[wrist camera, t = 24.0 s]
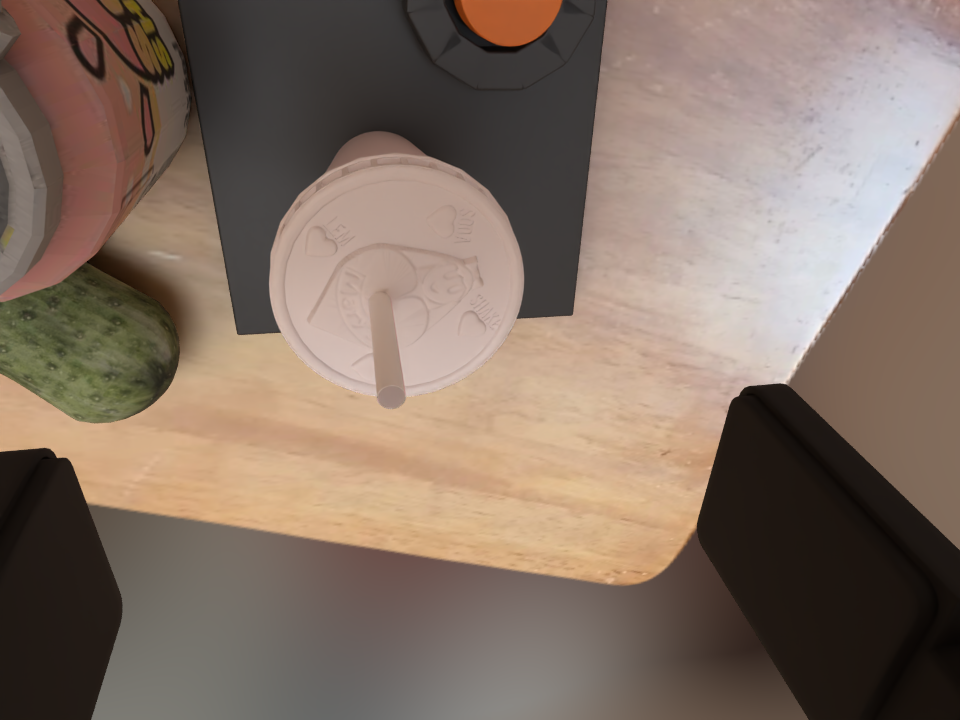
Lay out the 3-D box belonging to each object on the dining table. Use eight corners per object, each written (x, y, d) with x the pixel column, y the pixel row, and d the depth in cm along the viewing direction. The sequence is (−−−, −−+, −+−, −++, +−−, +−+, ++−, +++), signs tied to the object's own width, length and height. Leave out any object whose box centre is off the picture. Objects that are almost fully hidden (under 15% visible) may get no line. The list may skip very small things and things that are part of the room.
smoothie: (261, 119, 23) (180, 290, 11) (441, 68, 23) (551, 183, 11) (326, 283, 26) (317, 548, 14) (483, 237, 26) (599, 462, 15)
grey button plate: (158, -162, 20) (131, -180, 17) (608, -135, 22) (643, -148, 20) (241, 320, 28) (231, 356, 25) (564, 302, 30) (584, 333, 28)
